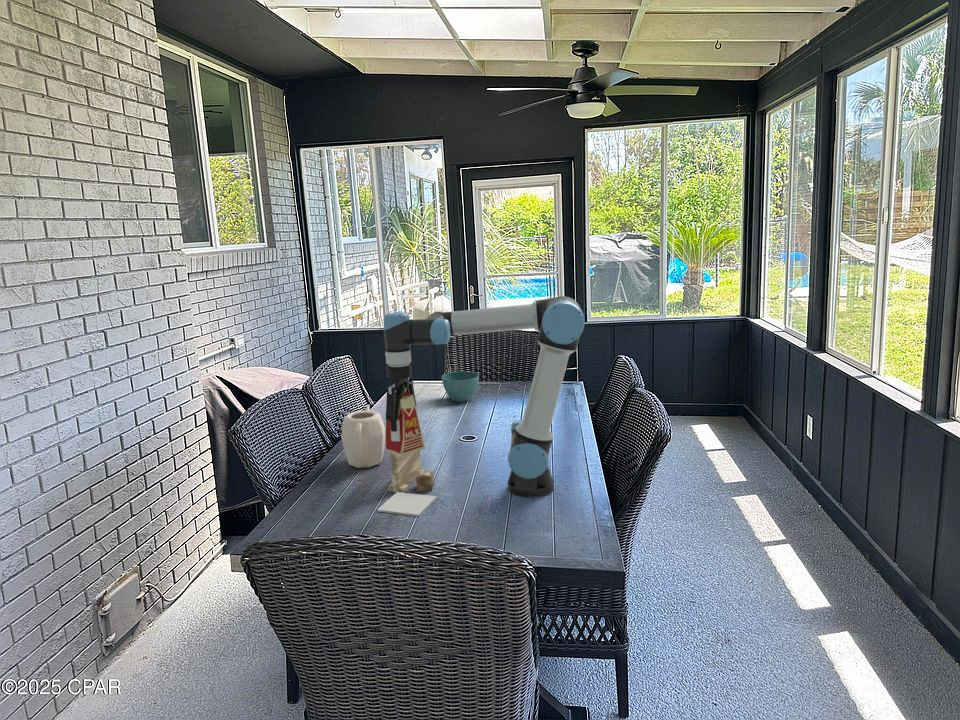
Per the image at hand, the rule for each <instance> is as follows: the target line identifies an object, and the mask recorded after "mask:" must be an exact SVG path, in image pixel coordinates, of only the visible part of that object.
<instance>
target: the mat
mask: <svg viewBox="0 0 960 720" xmlns="http://www.w3.org/2000/svg"><path fill="white" fill-rule="evenodd" d="M437 499H438V496H436V495H427V494H419V493H410V492H408V493H407V492H405V493H404V492H395V493H394V494H393V495H392V496H391V497H389V498H388V499H387V500H386V501H385V502H384V503H383V504H382V505H381V506H379V507H378V508H377V510H376V511H377V512H378V513H379V512H380V513H387V514H396V515H404V516H411V517H412V516H413V517H420V516H421V515H422V514H423V513H424V512H425V511H426V510H427V509H428V508H429V506H431V505H432V504H433V503H434V501H436V500H437Z"/></svg>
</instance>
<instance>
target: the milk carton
mask: <svg viewBox="0 0 960 720" xmlns="http://www.w3.org/2000/svg"><path fill="white" fill-rule="evenodd" d="M406 389H407V388H405V389H404V391H403V397H402V399H400V407H399V414H398V420H399V423H400V442H398V441H391V427H390V421H389V420H386V419H385V452H387V453H390V454H391V453H394V454H397V455H399V456H404V455H408V454H411V453H414V452H417V451H420V452H421V451H422V450H425V443H424V438H423V434H422V433H423V432H422V429H421V425H420V419H419V415H418V411H417V405H416V406H415V401H414V397H413V395H412V394H410V393H407V392H406ZM398 396H399V395H398Z"/></svg>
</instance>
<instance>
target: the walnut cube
mask: <svg viewBox="0 0 960 720" xmlns="http://www.w3.org/2000/svg"><path fill="white" fill-rule="evenodd" d="M434 474H435V473H434V470H426V471H418V474H417V476H416V478H415V479H416V481H415V482H416V491H417V492H418V491H419V492H422V491H423V492H430V491H431V492H433V488H434V486H435V479H434V478H435V477H434V476H435V475H434Z"/></svg>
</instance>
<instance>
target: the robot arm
mask: <svg viewBox="0 0 960 720" xmlns="http://www.w3.org/2000/svg"><path fill="white" fill-rule="evenodd" d="M585 320H586V318H585V315H584V312H583V310H582V308H581V306H580V304H579V303H578V302H577V300H575V299H574V298H572V297H569V296H565V295H564V296H563V295H562V296H554V297H551V298H545V299H544V298H543V299H536V300H534V301H533V302H531V303H528V304H520V305H509V306H498V307H486V308H479V309H478V308H477V309H466V310H456V311H447V312H446V311H445V312H443V311H435V312H432V313H430V314H429V315H428V316H427V317H426V318H424V319H423V318H421V319H418V318H417V319H412V318H410V316H409V313H407V312H404V311H403V312H402V311H400V312H399V311H397V312H396V311H395V312H388V313H386V314H384V316H383V335H384V337H383V338H384V346H385V347H384V348H385V353H384V355H385V363H386V364H387V365H386V367H385V368H386V378H388V379H390V380H391V382H390V386H386V388H385V392H386V404H385V405H386V406H385V407H386V408H385V421H386V420H389V421H390V427H391V441H398V442H400V423H399V420H398V414H399V407H400V399H402V397H403V391H404V389H405V388H407V389H406V392H407V393H410V394H412V395H413V397H414V401H415V406H416V407H417V400H416V395H415V393H416V392H415V388H414V377H412V376H413V375H412V374H413V371H412V367H413V366H412V364H411V363H412V352H411V351H412V350H411V345H413V346H415V345H436V346H438V345H446V344H449V342H450V339H451V336H461V335H463V336H464V335H473V334H484V333H485V334H486V333H496V332H506V331H507V332H508V331H519V330H529V329H531V330H532V329H533V330H535V331H537V332H538V336H537V339H536V340H537V341H536V342H537V343H538V345H539V346H540V350H539V353H538V358H537V361H536V366H535V370H534V372H533V377H532V382H531V385H530V390H529V394H528V397H527V402H526V406H525V410H524V413H523V417H522V419H518V420H514V421H513V422H511V425H510V426H511V428H510V431H511V433H510V434H511V442H510V447H509V452H508V456H507V460H508V466H509V468H510V473H509V476H508V479H507V490H508V493H511V494H512V495H514V496H518V497H522V498H537V497H544V496H547V495H549V494H551V493H553V491H554V489H555V482H554V479H553V475H552V473H551V470H550V467H549V455H550V451H551V447H552V443H553V439H554V435H553V433H552V432H551V427H552V424H553V419H554V415H555V411H556V408H557V405H558V401H559V396H560V392H561V389H562V385H563V381H564V377H565V374H566V370H567V366H568V363H569V362H568V361H569V359H570V355H572V354H573V353H574V352H576V351H577V348H578V344H579V341H580V337H581V335H582V334H583V331H584V330H585V329H584V328H585V323H586V321H585ZM398 395H399V396H398Z"/></svg>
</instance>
